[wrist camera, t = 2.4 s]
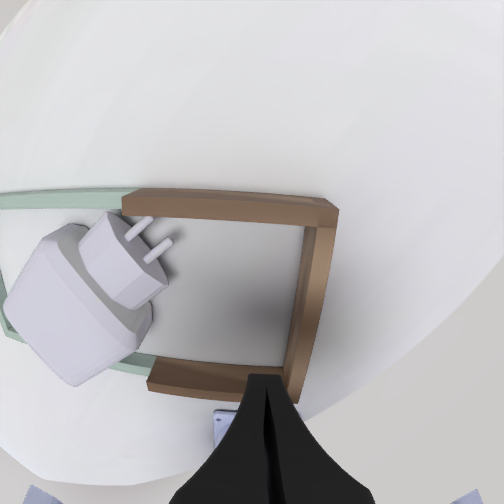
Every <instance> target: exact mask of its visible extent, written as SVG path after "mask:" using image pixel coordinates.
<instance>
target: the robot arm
mask: <svg viewBox="0 0 504 504" xmlns="http://www.w3.org/2000/svg"><path fill="white" fill-rule="evenodd" d="M213 422H214V441H215V450H214V451H213V453H212V454H211V455H210V457H209V458H208V459H207V460H206V462H205V463H204V464H203V465H202V466H201V467H200V468H199V470H198V471H197V472H196V473H195V474H194V475H193V476H192V477H191V478H190V479H189V480H188V481H187V482H186V483H185V484H184V485H183V486H182V487H181V488H179V489H178V490H177V491H176V493H175V494H174V496H173V497H172V499H171V501H170V502H169V504H375V501H374V499H373V496H372V494H371V492H370V490H369V489H368V488H366V487H365V486H363V485H362V484H360V483H359V482H358V481H356V480H355V479H354V478H353V477H351V476H350V475H349V474H348V473H347V472H345V471H344V470H343V469H342V468H341V467H340V466H339V465H338V464H337V463H336V462H335V461H334V460H333V459H332V458H331V457H330V456H329V455H328V454H327V453H326V452H325V451H324V449H323V448H322V447H321V446H320V445H319V444H318V442H317V441H316V440H315V438H314V437H313V436H312V434H311V433H310V431H309V430H308V428H307V427H306V425H305V424H304V422H303V421H302V419H301V417H300V415H299V414H298V412H297V410H296V408H295V406H294V405H293V403H292V401H291V399H290V396H289V394H288V392H287V390H286V387H285V385H284V382H283V379H282V376H281V375H280V374H254V373H250V374H249V375H248V379H247V385H246V389H245V392H244V395H243V398H242V401H241V403H240V406H239V408H238V410H237V412H224V411H216V412H214V414H213ZM23 504H63V503H62V502H61V501H60V500H58V499H57V498H55V497H53V496H51V495H50V494H48V493H46V492H44V491H42V490H41V489H39V488H37V487H35V486H34V485H31V486H30V488H29V490H28V492H27V495H26V497H25V499H24V502H23ZM451 504H483V502H482V500H481V497H480V495H479V492H478V490H477V489H476V490H474V491H472V492H470V493H468V494H466V495H464V496H462V497H461V498H459V499H457V500H456V501H454V502H452V503H451Z"/></svg>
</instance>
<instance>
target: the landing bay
mask: <svg viewBox="0 0 504 504" xmlns="http://www.w3.org/2000/svg"><path fill="white" fill-rule="evenodd" d="M139 189H141V188H93V189H63V190H43V191H28V192H15V193H3V194H0V209H43V208H90V209H122V203H121V197H122V196H124V195H127V194H129V193H131V192H134V191H136V190H139ZM6 298H7V294H6V291H5V287H4V284H3V280H2V276H1V272H0V323H1V325H2V328H3V331H4V333H5V336H7V337H9V338H12V339H15V340H17V341H20V342H22V343H25V344H27V343H26V342H25V341H24V339H23V338H22V337H21V336H20V335H19V333H18V332H17V331H16V330H15V329H14V327H13V326H12V325H11V323H10V322H9V321H8V319H7V317H6V315H5V313H4V310H3V304H4V302H5V300H6ZM156 357H157V356H152V355H146V354H140V353H134V352H133V353H132V354H130V355H128V356H127V357H125V358H124V359H122V360H120V361H119V362H117V363H115V364H114V365H112V366H111V367H109V369H113V370H118V371H123V372H127V373H132V374H137V375H143V376H148V377H149V374H150V372H151V369H152V367H153V364H154V362H155V359H156Z"/></svg>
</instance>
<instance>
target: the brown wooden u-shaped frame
mask: <svg viewBox="0 0 504 504" xmlns="http://www.w3.org/2000/svg"><path fill="white" fill-rule="evenodd" d="M121 203H122V216H149V217H173V218H193V219H211V220H228V221H244V222H258V223H272V224H285V225H298V226H305V233H304V241H303V248H302V256H301V263H300V270H299V277H298V284H297V290H296V297H295V303H294V309H293V315H292V321H291V327H290V333H289V339H288V344H287V350H286V355H285V361H284V366H283V367H262V366H243V365H229V364H217V363H206V362H197V361H188V360H180V359H173V358H165V357H159V356H157V357H156V359H155V362H154V364H153V367H152V369H151V372H150V374H149V377H148V379H147V381H146V383H147V387H148V391H152V392H158V393H164V394H170V395H177V396H184V397H191V398H199V399H208V400H219V401H231V402H241V401H242V398H243V395H244V392H245V389H246V385H247V379H248V375H249V374H250V373H254V374H280V375H281V376H282V379H283V382H284V385H285V387H286V390H287V392H288V394H289V396H290V399H291V401H292V403H293V404H298V402H299V398H300V395H301V391H302V387H303V384H304V380H305V376H306V373H307V369H308V365H309V361H310V357H311V353H312V349H313V345H314V341H315V337H316V332H317V328H318V324H319V319H320V315H321V310H322V305H323V301H324V296H325V291H326V286H327V280H328V275H329V270H330V264H331V259H332V253H333V247H334V241H335V235H336V228H337V222H338V215H339V209H338V208H337V207H335V206H334V205H333V204H332V203H330V202H329V201H328V200H326V199H323V198H313V197H303V196H293V195H281V194H269V193H255V192H240V191H222V190H201V189H169V188H141V189H139V190H136V191H134V192H131V193H129V194H127V195H124V196H122V197H121Z"/></svg>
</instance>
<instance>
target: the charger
mask: <svg viewBox="0 0 504 504" xmlns="http://www.w3.org/2000/svg"><path fill="white" fill-rule="evenodd" d="M152 221H154V217H149V216H144V217H143V218H142V219H141V220H140V221H138V222H137V223H136V224H135V225H134V226H133V227H130V226H129V225H128V224H127V223H125V222H124V221H123V220H122V219H120V218H119V217H118V216H116V215H115V214H113V213H110V212H108V211H107V212H106V213H105V214H104V215H103V216H102V217H101V218H100V219H99V220H98V221H97V223H96V224H95V225H94V226H93V227H92V228H91V229H90V230H89V229H88V228H86V227H84V226H79V225H73V224H68V225H66V226H64V227H62V228H60V229H58V230H56V231H54V232H53V233H51V234H49V235H47V236H45V237H44V238H42V240H41V241H40V242H39V244H38V245H37V247H36V248H35V250H34V252H33V253H32V255H31V256H30V258H29V259H28V261H27V263H26V264H25V266H24V268H23V269H22V271H21V273H20V274H19V276H18V278H17V280H16V281H15V283H14V285H13V287H12V288H11V290H10V292H9V294H8V296H7V298H6V300H5V302H4V304H3V310H4V313H5V315H6V317H7V319H8V321H9V322H10V323H11V325H12V326H13V327H14V329H15V330H16V331H17V332H18V333H19V335H20V336H21V337H22V338H23V339H24V341H25V342H26V343H27V344H28V345H29V346H30V347H31V349H32V350H33V351H34V352H35V353H36V354H37V355H38V356H39V357H40V358H41V359H42V360H43V362H44V363H45V364H46V365H47V366H48V367H49V368H50V369H51V370H52V371H53V372H54V373H55V374H56V375H57V376H58V377H59V378H61V379H62V380H63V381H64V382H66V383H67V384H69V385H71V386H74V387H78V386H79V385H81V384H83V383H84V382H86V381H88V380H89V379H91V378H93V377H94V376H96V375H98V374H99V373H101V372H102V371H104V370H106V369H107V368H109V367H111V366H112V365H114V364H115V363H117V362H119V361H120V360H122V359H124V358H125V357H127V356H128V355H130V354H132V353H133V352H135V351H136V350H138V349H139V347H140V345H141V343H142V341H143V339H144V337H145V335H146V333H147V331H148V329H149V327H150V326H151V324H152V309H151V304H150V302H149V300H150V299H151V298H153V297H154V296H155V295H157V294H158V293H159V292H161V291H162V290H163V289H165V288H166V287H168V286H169V284H168V280H167V276H166V274H165V273H164V271H163V269H162V267H161V265H160V263H159V261H158V259H157V257H158V256H159V255H161V254H162V253H163V252H164V251H166V250H167V249H168V248H169V247H171V246H172V245H173V244H174V241H173V239H172V238H171V237H167V238H165V239H164V240H163V241H162V242H161V243H159V244H158V245H157V246H156V247H155V248H153V249H152V250H150V249H149V247H148V246H147V245H146V244H145V243H144V241H143V240H142V239H141V238H140V237H139V235H138V234H139V233H140V232H141V231H142V230H143V229H145V228H146V227H147V226H148V225H149V224H150V223H151V222H152Z"/></svg>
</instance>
